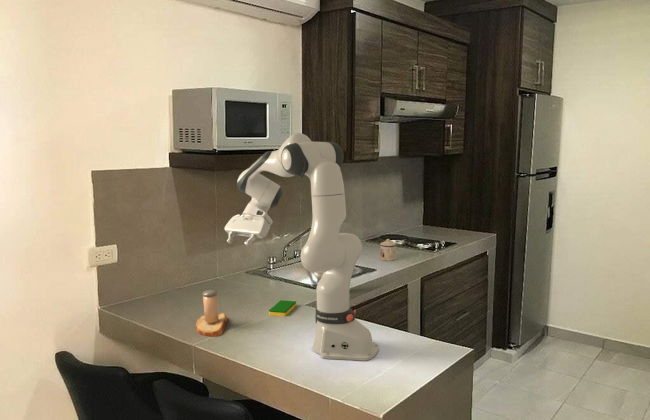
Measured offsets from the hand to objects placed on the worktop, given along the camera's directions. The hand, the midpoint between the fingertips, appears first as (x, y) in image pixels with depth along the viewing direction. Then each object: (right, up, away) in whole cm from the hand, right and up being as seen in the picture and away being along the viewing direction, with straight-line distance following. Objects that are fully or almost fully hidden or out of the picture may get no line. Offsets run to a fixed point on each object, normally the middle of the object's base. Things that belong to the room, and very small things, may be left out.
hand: (237, 243), depth 219 cm
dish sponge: (+17, -29, +11) cm, 35 cm away
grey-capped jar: (-9, -29, -7) cm, 31 cm away
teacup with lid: (+70, -15, +95) cm, 119 cm away
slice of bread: (-8, -32, -7) cm, 34 cm away
